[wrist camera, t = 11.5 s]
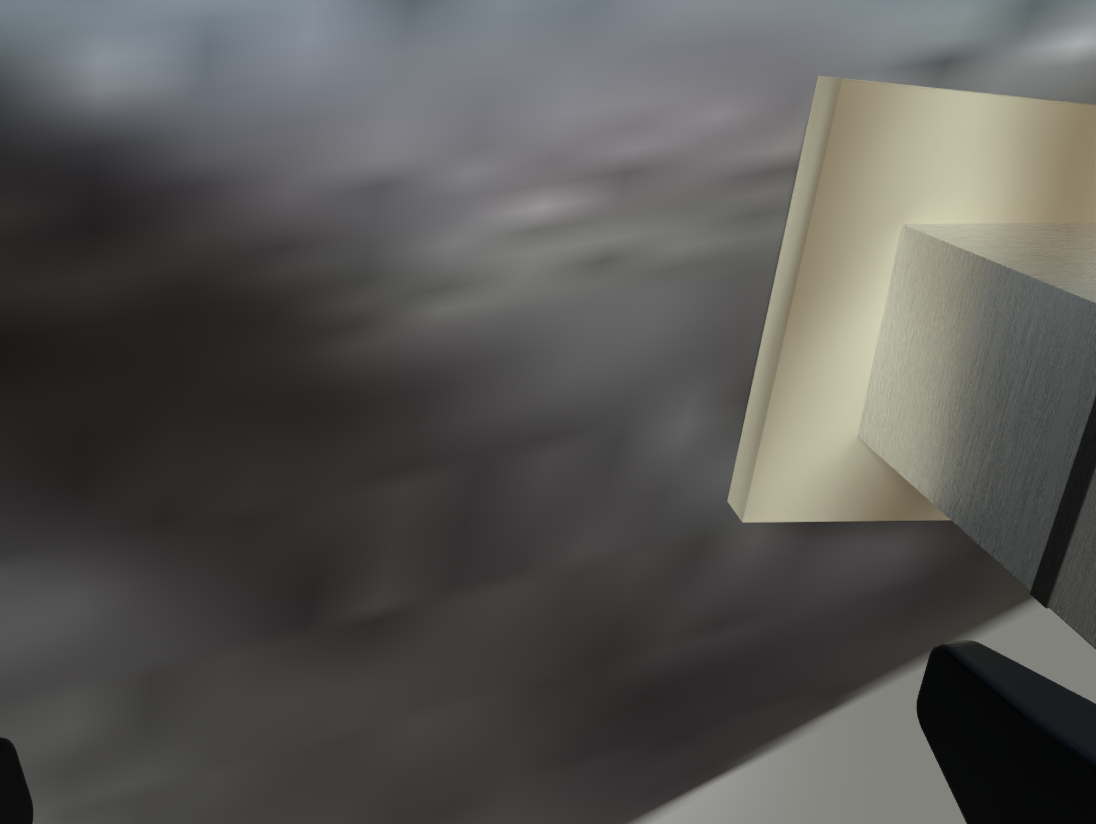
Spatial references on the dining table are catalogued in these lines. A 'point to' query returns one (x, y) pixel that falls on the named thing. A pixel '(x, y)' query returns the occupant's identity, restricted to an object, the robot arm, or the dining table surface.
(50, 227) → the dining table surface
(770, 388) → the stand
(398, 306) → the dining table surface
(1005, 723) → the robot arm
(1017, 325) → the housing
